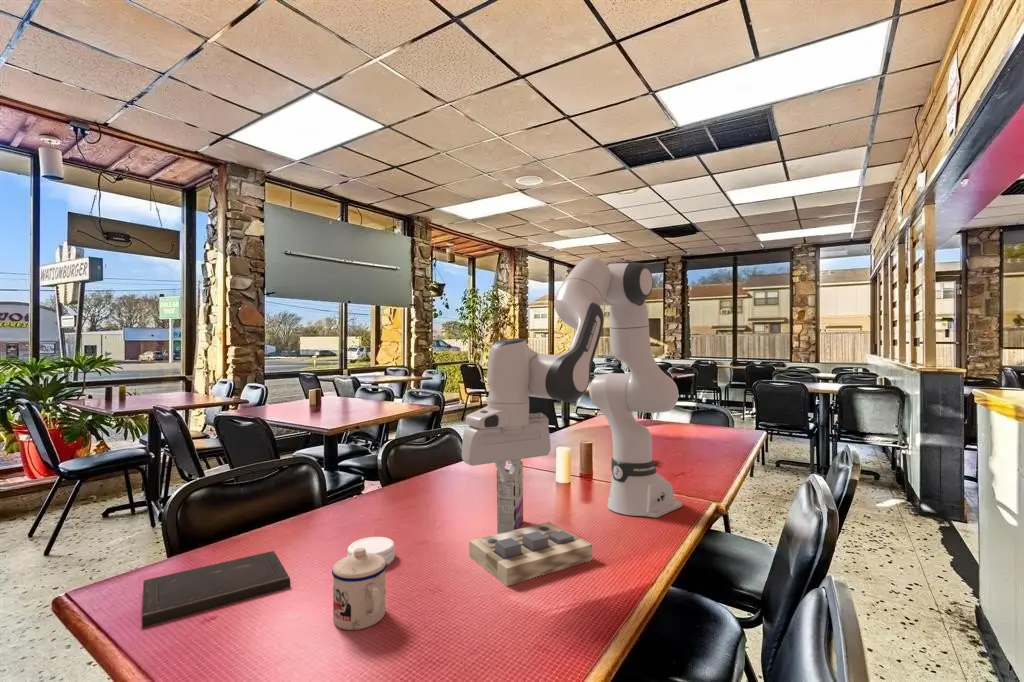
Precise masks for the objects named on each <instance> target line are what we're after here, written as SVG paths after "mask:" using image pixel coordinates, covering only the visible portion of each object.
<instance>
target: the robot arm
mask: <svg viewBox="0 0 1024 682" xmlns="http://www.w3.org/2000/svg"><path fill="white" fill-rule="evenodd" d="M653 281H654V279H653V273H652V272H651V270H650V268H649V267H648V266H647V265H646V264H645V263H643V262H636V261H635V262H633V261H632V262H631V261H630V262H623V263H622V262H620V263H619V262H618V263H617V262H615V263H608V264H607V263H606V262H605V261H604V260H602V259H600V258H599V257H592V256H591V257H589V256H588V257H586V258H583V259H582V260H580V261H579V262H578V263H577V264H575V266H574V267H573V269H572V270H571V271H570V272H569V273H568V275H567V276H566V278H565V279H564V280H563V281H562V283H561V285H560V287H559V289H558V290H557V292H556V294H555V298H554V301H553V304H554V309H555V310H554V311H555V313H556V314H557V316H558V317H559V319H560V320H561V321H562V322H563V323H564V324H566V325H567V326H569V327H571V328H572V329H576V330H575V333H574V336H573V339H572V342H571V344H570V347H569V349H568V350H567V351H564V352H562V353H559V354H543V353H539V352H537V351H534V350H533V349H532V348H531V347H529V345H528V343H527V340H526V339H524V338H506V339H504V338H503V339H501V340H497V341H495V342H494V343H492V344H491V346H490V349H489V353H488V359H487V384H488V388H489V389H488V390H489V391H488V397H487V399H486V401H487V402H486V403H487V405H485V406H484V407H482V408H480V409H478V410H475V411H474V412H470V413H469V414H466V416H465V424H466V425H467V427H465V429H464V432H463V435H462V444H461V459H462V461H463V462H464V463H465V464H466V465H469V466H471V467H472V466H473V467H474V466H479V465H480V466H481V465H487V464H488V465H489V464H495V467H496V470H497V469H498V471H499V473H500V481H501V482H503V483H505V482H511V481H515V480H516V473H517V471H518V469H519V467H520V465H521V460H523V459H531V458H537V457H545V456H549V455H550V452H551V448H552V447H551V437H550V429H549V418H548V417H547V415H545V414H544V413H543V412H536V413H530V398H529V397H531V398H532V397H533V398H540V399H551V400H556V401H559V402H564V403H574V402H576V401H577V400H579V399H580V398H582V396H583V395H585V393H586V392H587V389H588V390H589V391H588V392H589V393H588V394H589V398H590V401H591V402H592V404H593V405H594V406H595V407H596V408H598V409H599V410H600V412H601V413H602V414H603V415H604V416H605V418H606V420H607V423H608V426H609V428H610V431H611V436H612V437H611V439H612V457H611V462H610V463H611V472H612V473H611V474H612V475H611V479H610V490H609V495H608V498H607V500H608V501H607V505H606V506H607V508H608V509H609V510H610V511H612V512H614V513H617V514H621V515H625V516H634V517H635V516H636V517H648V518H659V517H661V516H664V515H666V514H669V513H670V512H673V511H675V510H677V509H679V508H681V507H683V503H682V501H680V500H679V499H678V498H675V496H674V488H673V486H672V484H671V483H670V482H669V481H668V480H667V479H665V478H664V477H663V476H662V475H660V474H659V473H658V472H657V471H658V470H657V468H662V467H663V461H662V460H658V459H655V460H653V436H652V433H651V431H650V430H649V429H648V427H646V426H644V425H643V424H641V423H639V422H638V421H637V420H636V418H635V417H634V414H633V413H634V412H635V413H646V414H647V413H649V414H656V413H657V414H658V413H665V412H670V411H671V410H673V409H674V408H675V406H676V405H677V402H678V401H679V400H678V399H679V389H678V386H677V383H676V382H675V381H674V379H673V378H671V377H670V376H669V375H668V374H666V373H665V372H664V371H663V370H662V369H661V368H660V366H659V365H658V363H657V362H656V359H655V357H654V356H653V352H652V351H653V350H652V345H651V338H650V320H649V313H648V307H647V302H646V301H647V300H648V298H649V297H650V295H651V294H652V291H653V286H654V282H653ZM601 306H609V316H608V317H609V319H608V320H609V322H608V323H609V324H608V325H609V342H610V352H611V354H612V355H613V357H614V358H615V359H616V360H618V361H619V362H622V363H623V364H625V366H627V368H628V369H629V371H630V373H621V372H619V373H618V372H610V373H604V374H603V373H602V374H597V375H596V376H594V377H593V379H592V380H591V371H592V370H591V369H592V365H593V362H594V358H595V355H596V351H597V349H598V345H599V342H600V338H601V335H602V332H603V328H604V322H605V315H604V311H603V309H602V308H601ZM590 380H591V382H590ZM589 384H590V385H589ZM506 461H510V463H512V465H511V467H510V470H509V471H508V472H506V471H505V469H504V467H503V466H506Z"/></svg>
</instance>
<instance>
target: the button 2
mask: <svg viewBox="0 0 1024 682" xmlns="http://www.w3.org/2000/svg"><path fill="white" fill-rule="evenodd" d="M548 539H549V540H551V541H553V542H555V543H556V544H558V545H560V544H564V543H568V542H571V541H573V536H572V535H570V534H568V533H566V532H564V531H559V532H555V533H551V534H548Z"/></svg>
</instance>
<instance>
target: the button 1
mask: <svg viewBox="0 0 1024 682" xmlns="http://www.w3.org/2000/svg"><path fill="white" fill-rule="evenodd" d="M495 553H496V554H497V555H498V556H500V557H501V558H503V559H504V560H505V559H509V558H512V557H516V556H520V555H521V544H520V543H519V542H517V541H516V540H514V539H512V538H508V539H504V540H499V541H495Z"/></svg>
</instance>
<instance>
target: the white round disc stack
mask: <svg viewBox="0 0 1024 682" xmlns="http://www.w3.org/2000/svg"><path fill="white" fill-rule="evenodd" d="M395 547H396V545H395V542H394V541H393V540H392V539H390V538H388V537H384V536H370V537H364V538H360V539H358V540H356V541H353V542H352V543H351V544H350V545H348V547H347V556H350V555H352V554H354V550H355V549H357V548H365V550H366V552H368V553H372V554H377V555H380V556H382V557H383V558H384V559H385V561H386V563H387V566H388V565H389V564H391V563H392V562H393V561H394V559H395V552H396V549H395ZM347 556H346V557H347Z"/></svg>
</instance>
